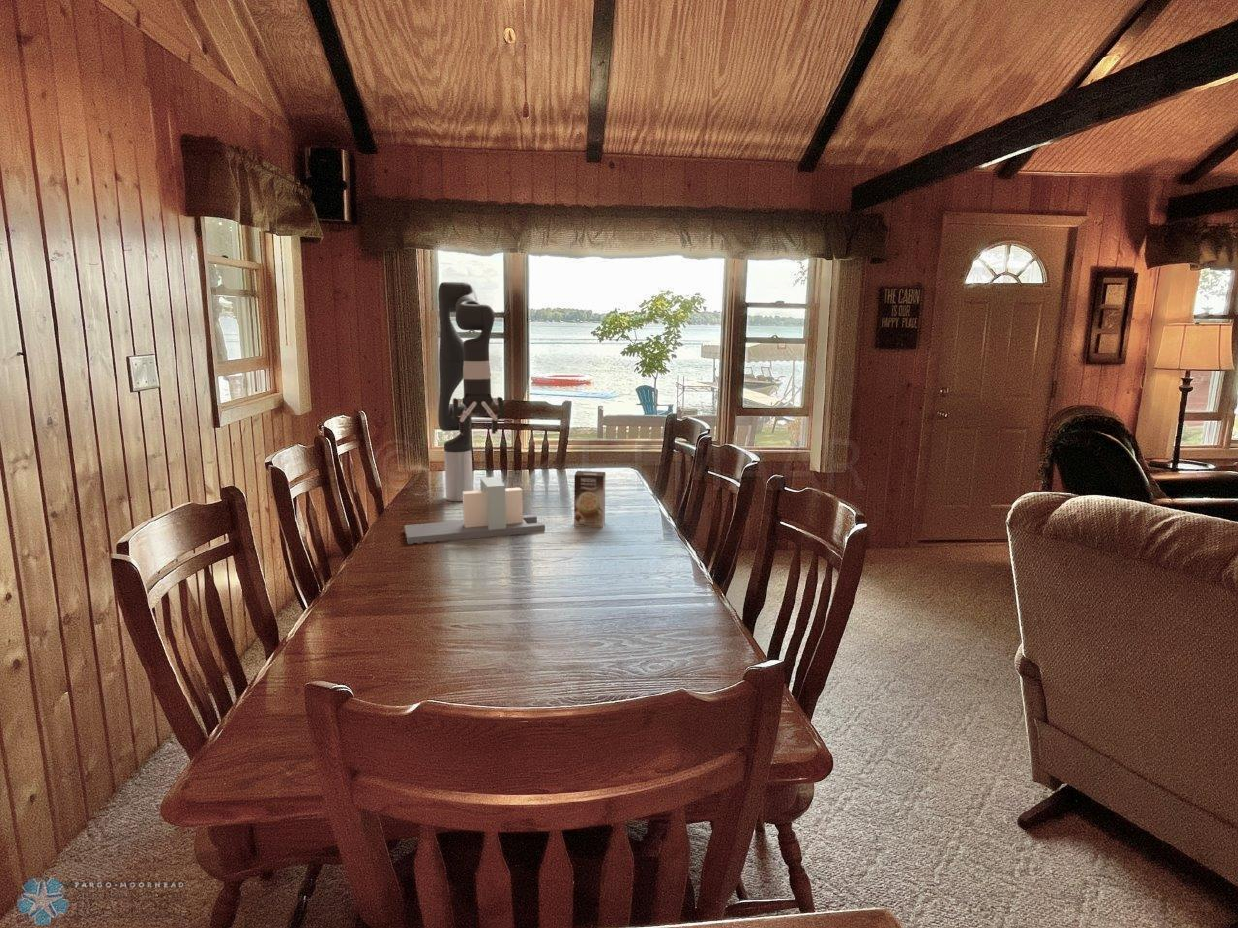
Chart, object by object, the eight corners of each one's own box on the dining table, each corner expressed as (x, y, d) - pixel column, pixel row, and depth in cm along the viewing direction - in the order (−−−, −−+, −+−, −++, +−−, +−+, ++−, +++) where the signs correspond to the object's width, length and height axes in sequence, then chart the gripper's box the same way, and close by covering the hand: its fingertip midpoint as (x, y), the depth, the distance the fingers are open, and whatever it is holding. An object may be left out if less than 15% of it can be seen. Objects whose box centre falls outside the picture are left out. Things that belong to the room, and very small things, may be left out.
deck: (404, 531, 213) (404, 525, 212) (534, 520, 226) (534, 514, 226) (408, 544, 201) (407, 537, 200) (544, 531, 214) (544, 525, 214)
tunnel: (481, 518, 220) (480, 478, 217) (497, 517, 222) (496, 476, 219) (488, 529, 208) (487, 486, 206) (506, 528, 210) (505, 485, 208)
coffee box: (573, 526, 220) (572, 474, 217) (576, 521, 226) (576, 470, 223) (603, 527, 219) (603, 475, 216) (605, 521, 225) (605, 471, 222)
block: (463, 524, 214) (462, 491, 212) (520, 519, 219) (519, 487, 218) (465, 527, 210) (464, 494, 209) (522, 522, 216) (522, 489, 214)
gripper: (499, 375, 209) (501, 431, 213) (449, 376, 205) (451, 433, 208) (504, 377, 202) (506, 435, 206) (453, 378, 198) (455, 437, 201)
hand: (478, 434), depth 207 cm, fingers open, 8 cm apart
